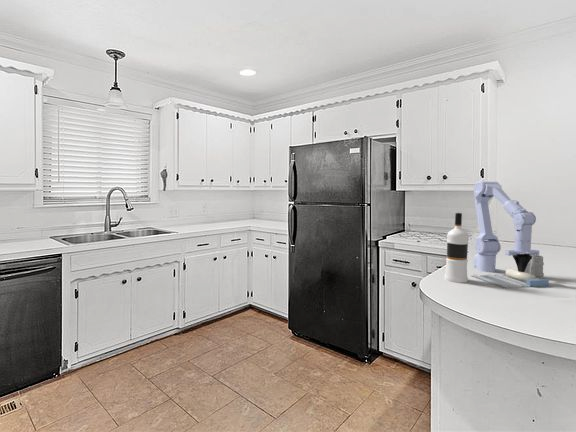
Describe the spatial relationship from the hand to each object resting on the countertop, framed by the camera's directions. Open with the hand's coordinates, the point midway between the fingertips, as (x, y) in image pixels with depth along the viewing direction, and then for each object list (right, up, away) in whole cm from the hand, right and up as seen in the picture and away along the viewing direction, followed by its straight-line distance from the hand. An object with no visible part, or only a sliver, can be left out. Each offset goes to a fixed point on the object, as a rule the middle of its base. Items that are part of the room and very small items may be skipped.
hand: (521, 271), depth 149 cm
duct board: (-5, -5, 0) cm, 7 cm away
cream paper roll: (0, -4, +1) cm, 4 cm away
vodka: (-28, -5, +1) cm, 28 cm away
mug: (+11, -5, +9) cm, 15 cm away
